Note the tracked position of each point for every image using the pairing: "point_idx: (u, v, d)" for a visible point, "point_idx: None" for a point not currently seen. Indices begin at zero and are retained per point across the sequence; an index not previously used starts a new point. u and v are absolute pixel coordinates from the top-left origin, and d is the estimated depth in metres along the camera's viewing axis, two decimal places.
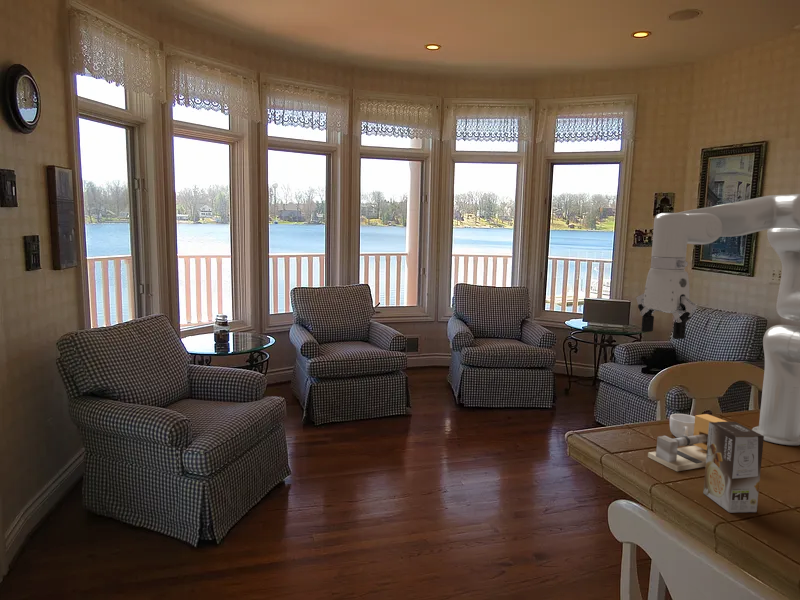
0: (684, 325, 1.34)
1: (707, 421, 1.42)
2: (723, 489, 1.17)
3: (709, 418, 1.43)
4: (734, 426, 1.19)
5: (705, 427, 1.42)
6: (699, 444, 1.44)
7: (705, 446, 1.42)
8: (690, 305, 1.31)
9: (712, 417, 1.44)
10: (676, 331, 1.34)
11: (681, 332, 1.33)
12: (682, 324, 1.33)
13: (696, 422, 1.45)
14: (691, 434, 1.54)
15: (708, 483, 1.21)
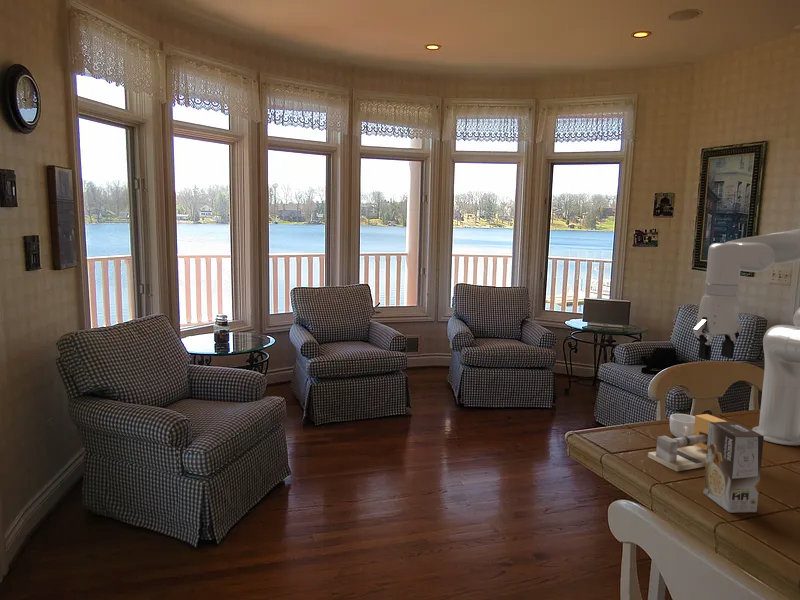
0: None
1: (707, 421, 1.42)
2: (723, 489, 1.17)
3: (709, 418, 1.43)
4: (734, 426, 1.19)
5: (705, 427, 1.42)
6: (699, 444, 1.44)
7: (705, 446, 1.42)
8: (741, 326, 1.50)
9: (712, 417, 1.44)
10: None
11: None
12: None
13: (696, 422, 1.45)
14: (691, 434, 1.54)
15: (708, 483, 1.21)
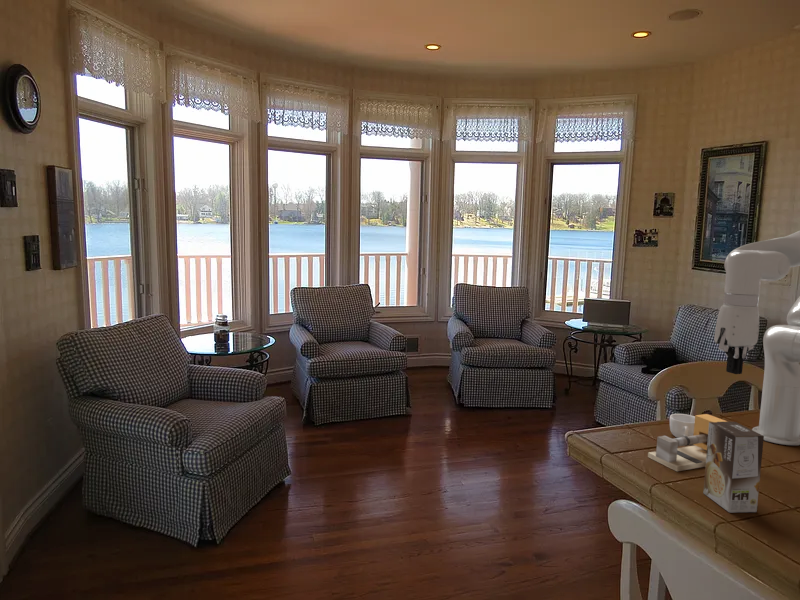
0: None
1: (707, 421, 1.42)
2: (723, 489, 1.17)
3: (709, 418, 1.43)
4: (734, 426, 1.19)
5: (705, 427, 1.42)
6: (699, 444, 1.44)
7: (705, 446, 1.42)
8: (752, 345, 1.45)
9: (712, 417, 1.44)
10: None
11: None
12: None
13: (696, 422, 1.45)
14: (691, 434, 1.54)
15: (708, 483, 1.21)
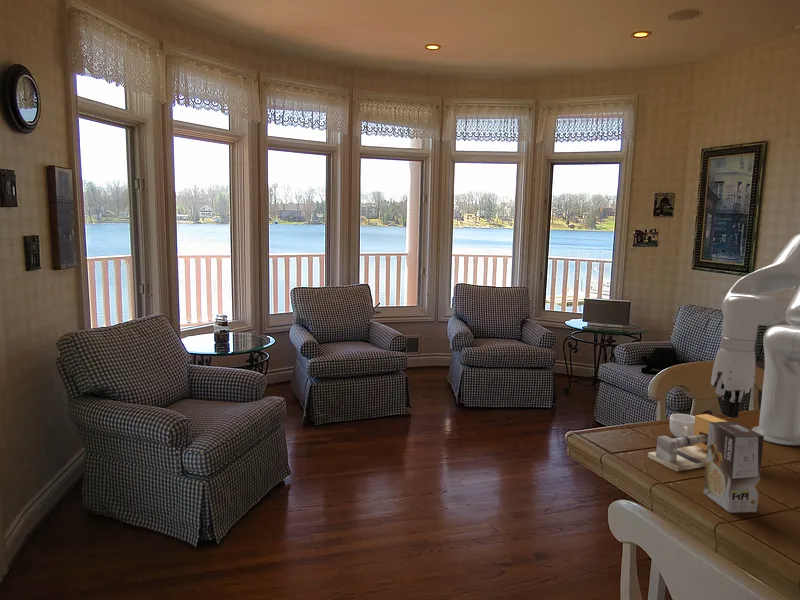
0: None
1: (707, 421, 1.42)
2: (723, 489, 1.17)
3: (709, 418, 1.43)
4: (734, 426, 1.19)
5: (705, 427, 1.42)
6: (699, 444, 1.44)
7: (705, 446, 1.42)
8: (748, 389, 1.46)
9: (712, 417, 1.44)
10: None
11: None
12: None
13: (696, 422, 1.45)
14: (691, 434, 1.54)
15: (708, 483, 1.21)
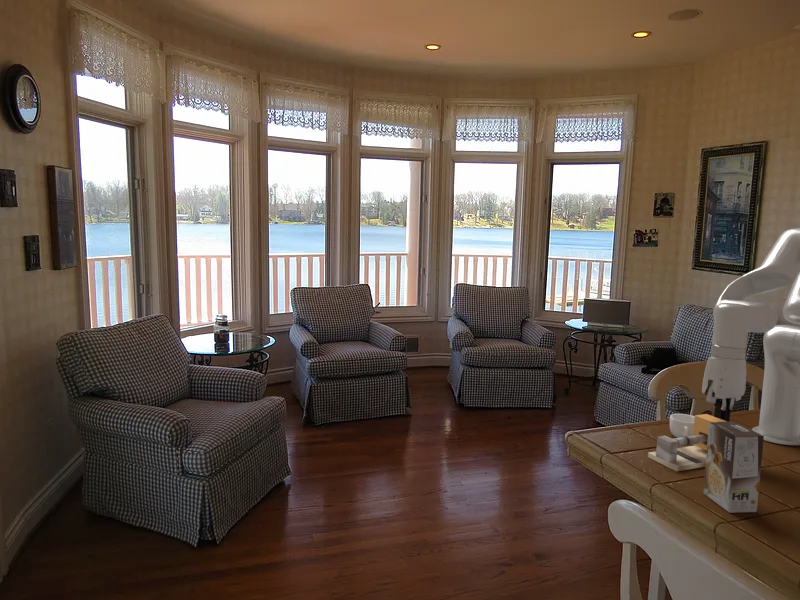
0: None
1: (707, 421, 1.42)
2: (723, 489, 1.17)
3: (709, 418, 1.43)
4: (734, 426, 1.19)
5: (705, 427, 1.42)
6: (699, 444, 1.44)
7: (705, 446, 1.42)
8: (740, 396, 1.45)
9: (712, 417, 1.44)
10: None
11: None
12: None
13: (696, 422, 1.45)
14: (691, 434, 1.54)
15: (708, 483, 1.21)
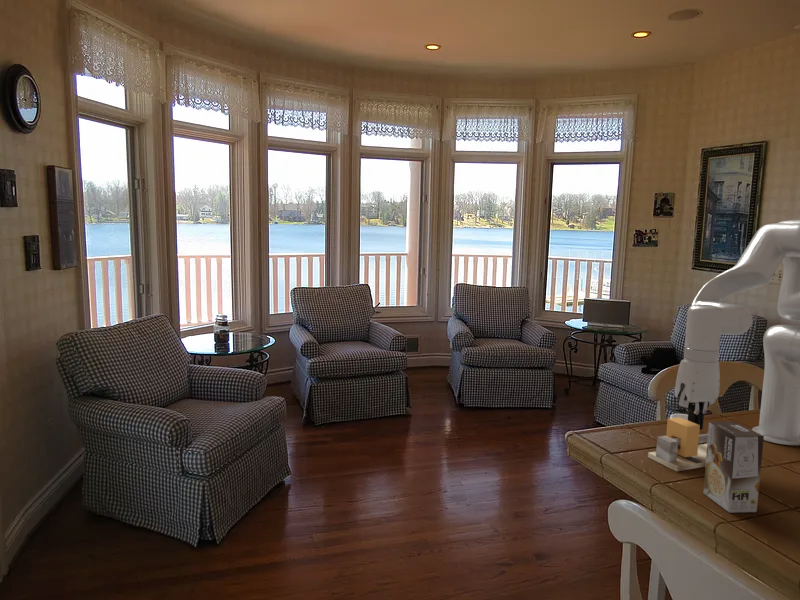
0: None
1: (679, 425, 1.38)
2: (723, 489, 1.17)
3: (681, 422, 1.39)
4: (734, 426, 1.19)
5: (678, 431, 1.39)
6: None
7: (677, 450, 1.39)
8: (713, 399, 1.42)
9: (685, 421, 1.40)
10: None
11: None
12: None
13: (668, 426, 1.41)
14: None
15: (708, 483, 1.21)
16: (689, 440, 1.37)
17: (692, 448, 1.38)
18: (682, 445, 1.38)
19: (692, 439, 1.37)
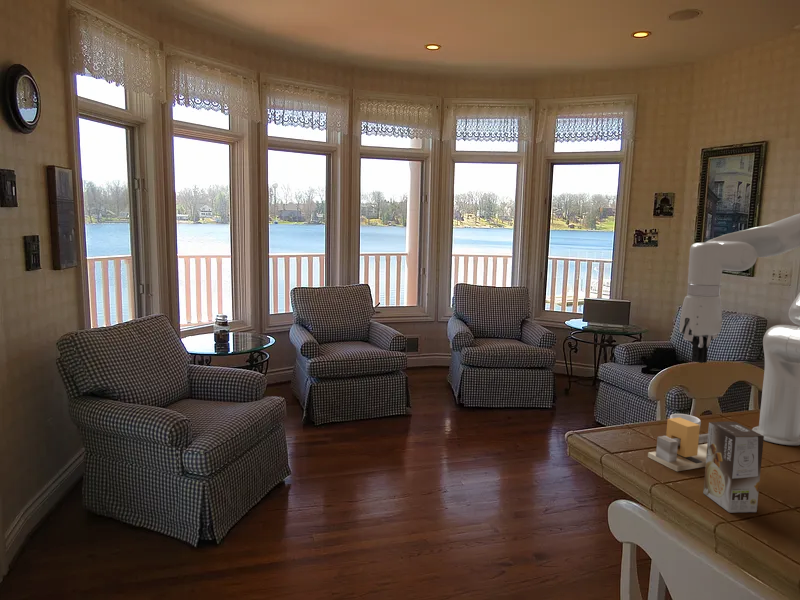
0: None
1: (679, 425, 1.38)
2: (723, 489, 1.17)
3: (681, 422, 1.39)
4: (734, 426, 1.19)
5: (677, 431, 1.39)
6: None
7: (677, 450, 1.39)
8: (716, 334, 1.48)
9: (685, 421, 1.40)
10: None
11: None
12: None
13: (668, 426, 1.41)
14: None
15: (708, 483, 1.21)
16: (689, 440, 1.37)
17: (692, 448, 1.38)
18: (682, 445, 1.38)
19: (692, 439, 1.37)
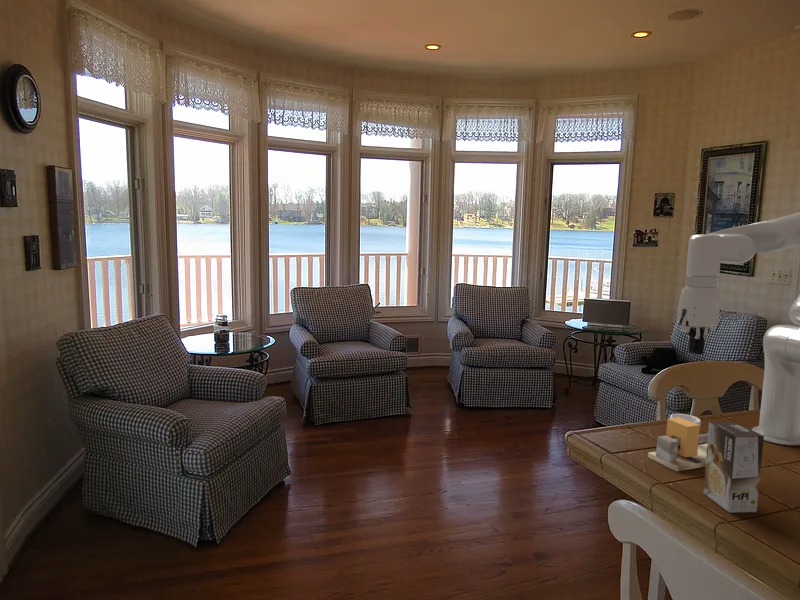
0: None
1: (679, 425, 1.38)
2: (723, 489, 1.17)
3: (681, 422, 1.39)
4: (734, 426, 1.19)
5: (677, 431, 1.39)
6: None
7: (677, 450, 1.39)
8: (714, 326, 1.48)
9: (685, 421, 1.40)
10: None
11: None
12: None
13: (668, 426, 1.41)
14: None
15: (708, 483, 1.21)
16: (689, 440, 1.37)
17: (692, 448, 1.38)
18: (682, 445, 1.38)
19: (692, 439, 1.37)
